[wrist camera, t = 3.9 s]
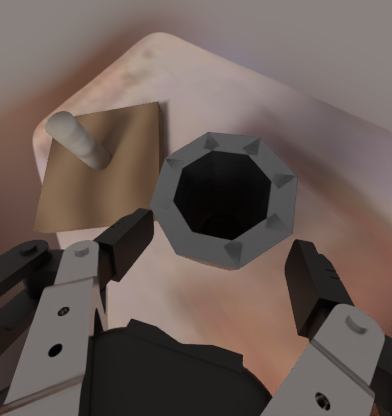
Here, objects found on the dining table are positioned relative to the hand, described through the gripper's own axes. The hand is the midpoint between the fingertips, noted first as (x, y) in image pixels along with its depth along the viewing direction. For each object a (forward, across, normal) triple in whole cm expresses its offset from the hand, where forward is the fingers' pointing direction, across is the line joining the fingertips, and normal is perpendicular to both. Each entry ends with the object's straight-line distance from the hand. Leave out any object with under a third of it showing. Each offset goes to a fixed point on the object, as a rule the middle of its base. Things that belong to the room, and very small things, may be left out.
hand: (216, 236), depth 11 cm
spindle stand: (+9, +14, 0) cm, 17 cm away
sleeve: (+6, 0, +4) cm, 7 cm away
